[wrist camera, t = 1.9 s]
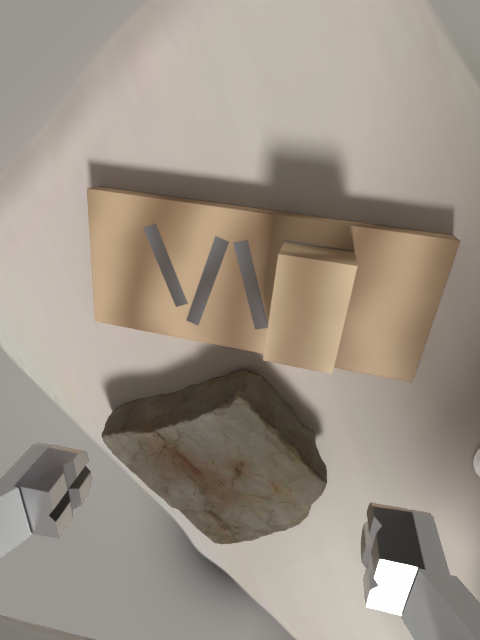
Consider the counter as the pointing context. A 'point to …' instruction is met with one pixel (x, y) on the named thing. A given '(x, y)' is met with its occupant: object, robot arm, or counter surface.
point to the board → (258, 275)
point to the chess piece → (477, 462)
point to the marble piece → (222, 455)
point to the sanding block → (309, 305)
